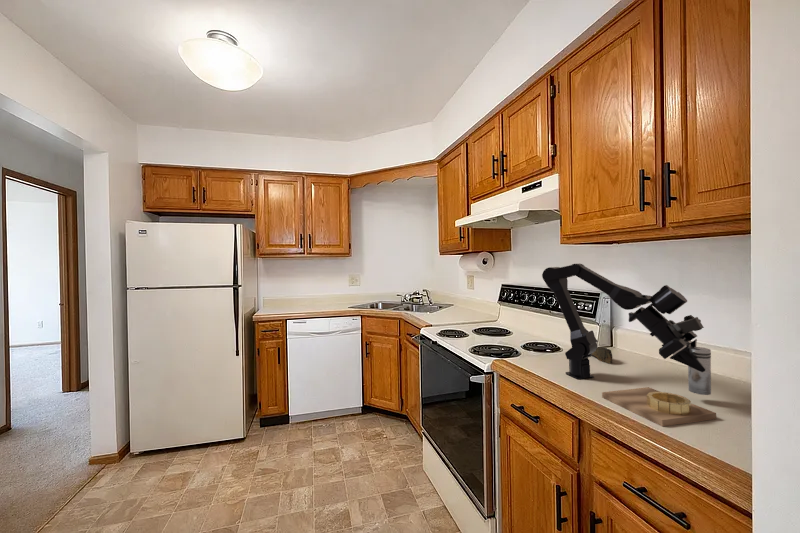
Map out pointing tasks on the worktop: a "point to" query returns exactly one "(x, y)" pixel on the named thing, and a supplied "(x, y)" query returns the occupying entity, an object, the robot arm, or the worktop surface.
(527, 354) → the worktop surface
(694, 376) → the piston
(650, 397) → the brass ring collar
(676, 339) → the robot arm
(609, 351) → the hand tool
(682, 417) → the walnut board
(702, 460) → the worktop surface
